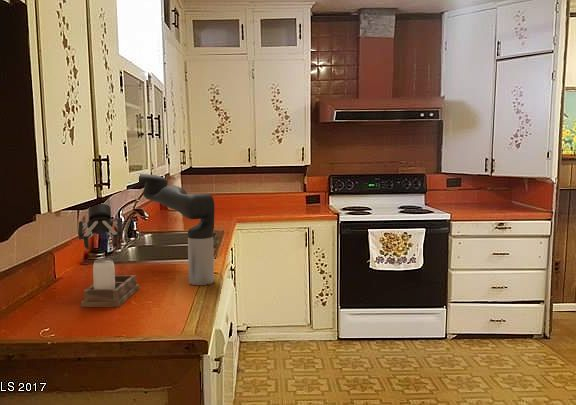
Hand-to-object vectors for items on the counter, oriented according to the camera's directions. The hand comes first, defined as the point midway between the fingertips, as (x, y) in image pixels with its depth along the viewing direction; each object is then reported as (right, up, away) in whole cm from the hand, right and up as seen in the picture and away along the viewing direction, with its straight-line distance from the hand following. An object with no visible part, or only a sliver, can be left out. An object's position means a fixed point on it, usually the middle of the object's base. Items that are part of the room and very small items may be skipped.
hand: (101, 246), depth 163 cm
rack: (+4, -17, -2) cm, 17 cm away
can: (+4, -16, -7) cm, 18 cm away
